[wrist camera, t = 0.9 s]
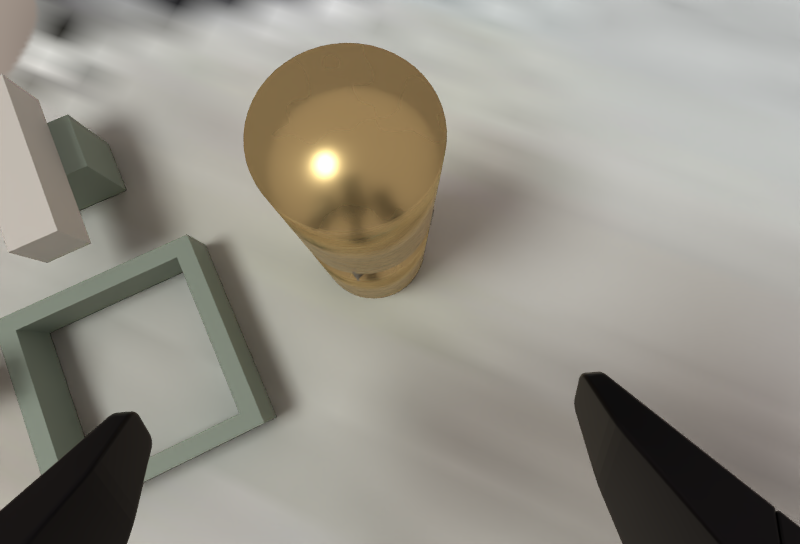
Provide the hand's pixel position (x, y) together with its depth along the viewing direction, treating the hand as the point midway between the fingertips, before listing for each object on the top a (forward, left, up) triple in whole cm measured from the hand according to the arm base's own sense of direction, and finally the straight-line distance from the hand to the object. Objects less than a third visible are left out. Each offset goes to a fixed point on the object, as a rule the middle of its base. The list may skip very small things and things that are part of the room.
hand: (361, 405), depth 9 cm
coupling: (+5, -4, -13) cm, 14 cm away
